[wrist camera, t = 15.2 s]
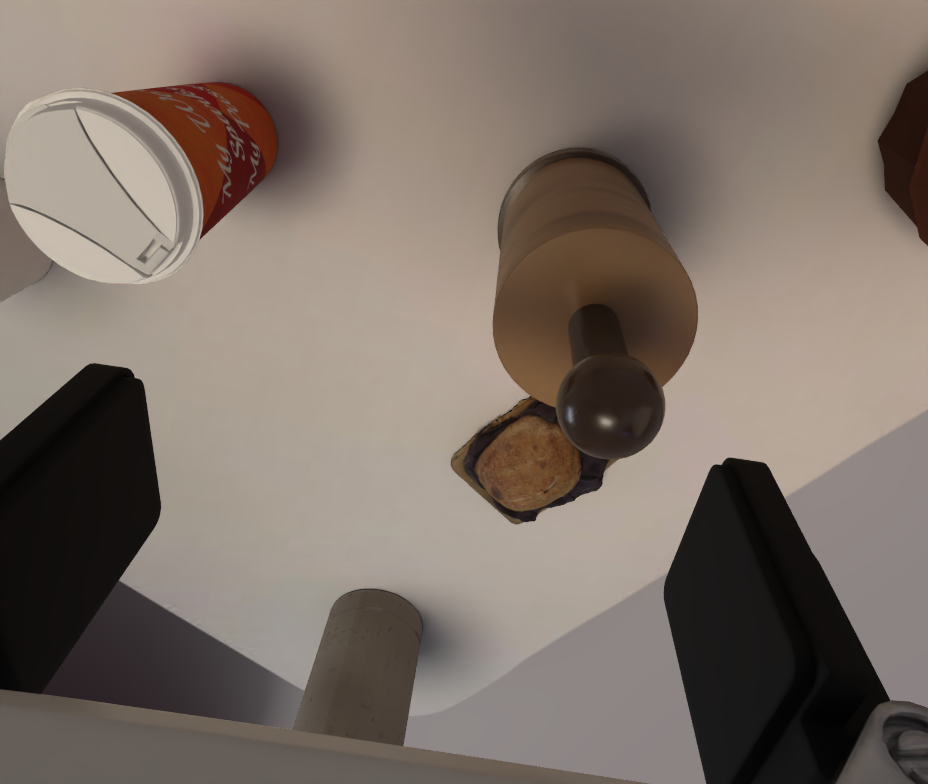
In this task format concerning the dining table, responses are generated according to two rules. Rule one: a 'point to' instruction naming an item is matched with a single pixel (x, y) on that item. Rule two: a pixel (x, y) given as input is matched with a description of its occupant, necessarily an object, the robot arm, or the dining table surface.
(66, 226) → the paper cup
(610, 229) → the paper towel holder
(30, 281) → the cylindrical container
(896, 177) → the muffin
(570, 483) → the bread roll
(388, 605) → the thermos bottle
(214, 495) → the dining table surface
